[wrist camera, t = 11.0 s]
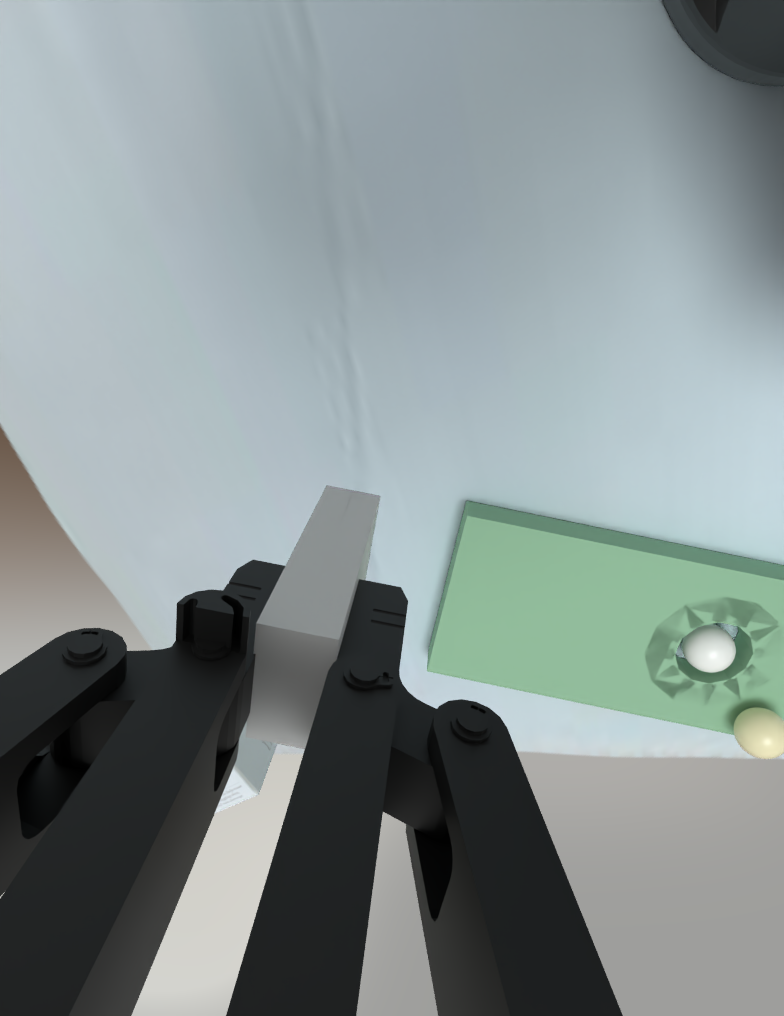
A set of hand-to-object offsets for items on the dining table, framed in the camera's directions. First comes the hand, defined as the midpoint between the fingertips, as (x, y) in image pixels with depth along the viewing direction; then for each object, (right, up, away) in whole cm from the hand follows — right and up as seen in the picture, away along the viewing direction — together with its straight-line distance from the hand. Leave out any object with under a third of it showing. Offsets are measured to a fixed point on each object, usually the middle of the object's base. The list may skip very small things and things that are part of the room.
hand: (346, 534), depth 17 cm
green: (+18, -7, +28) cm, 34 cm away
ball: (+24, -9, +27) cm, 37 cm away
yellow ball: (+27, -15, +26) cm, 40 cm away
